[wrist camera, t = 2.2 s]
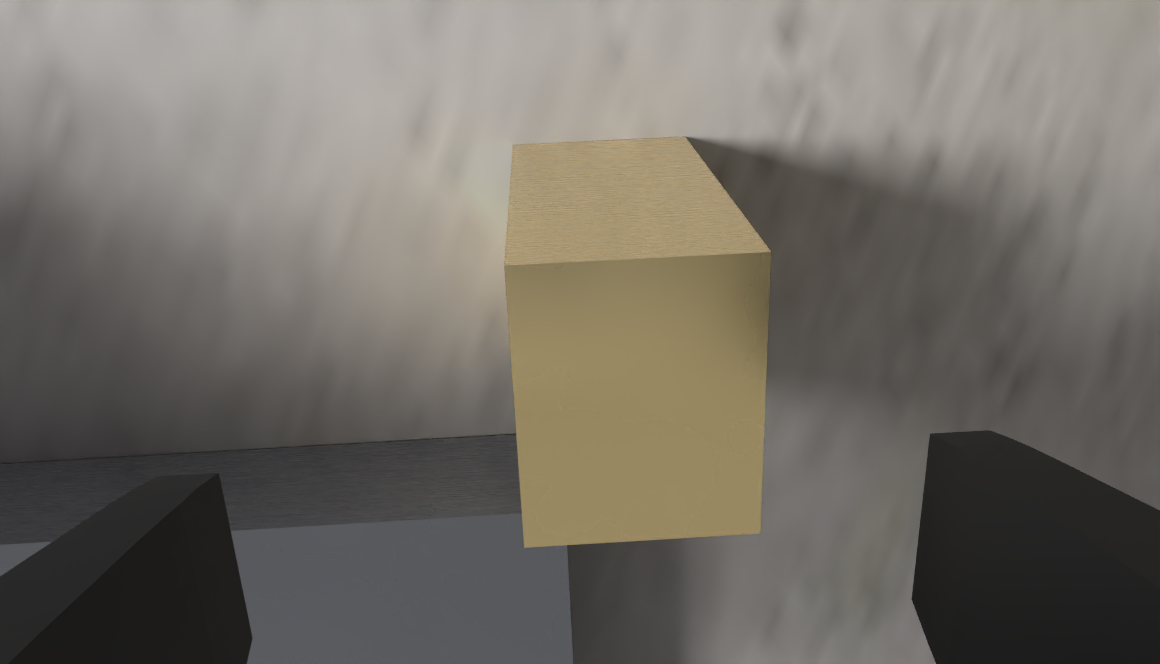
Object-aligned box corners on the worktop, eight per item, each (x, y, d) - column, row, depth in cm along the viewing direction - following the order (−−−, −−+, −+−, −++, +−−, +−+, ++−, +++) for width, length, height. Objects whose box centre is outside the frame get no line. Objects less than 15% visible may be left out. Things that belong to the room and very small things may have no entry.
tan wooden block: (525, 343, 20) (524, 548, 13) (512, 144, 18) (504, 265, 12) (684, 335, 20) (760, 533, 13) (685, 136, 18) (770, 251, 12)
